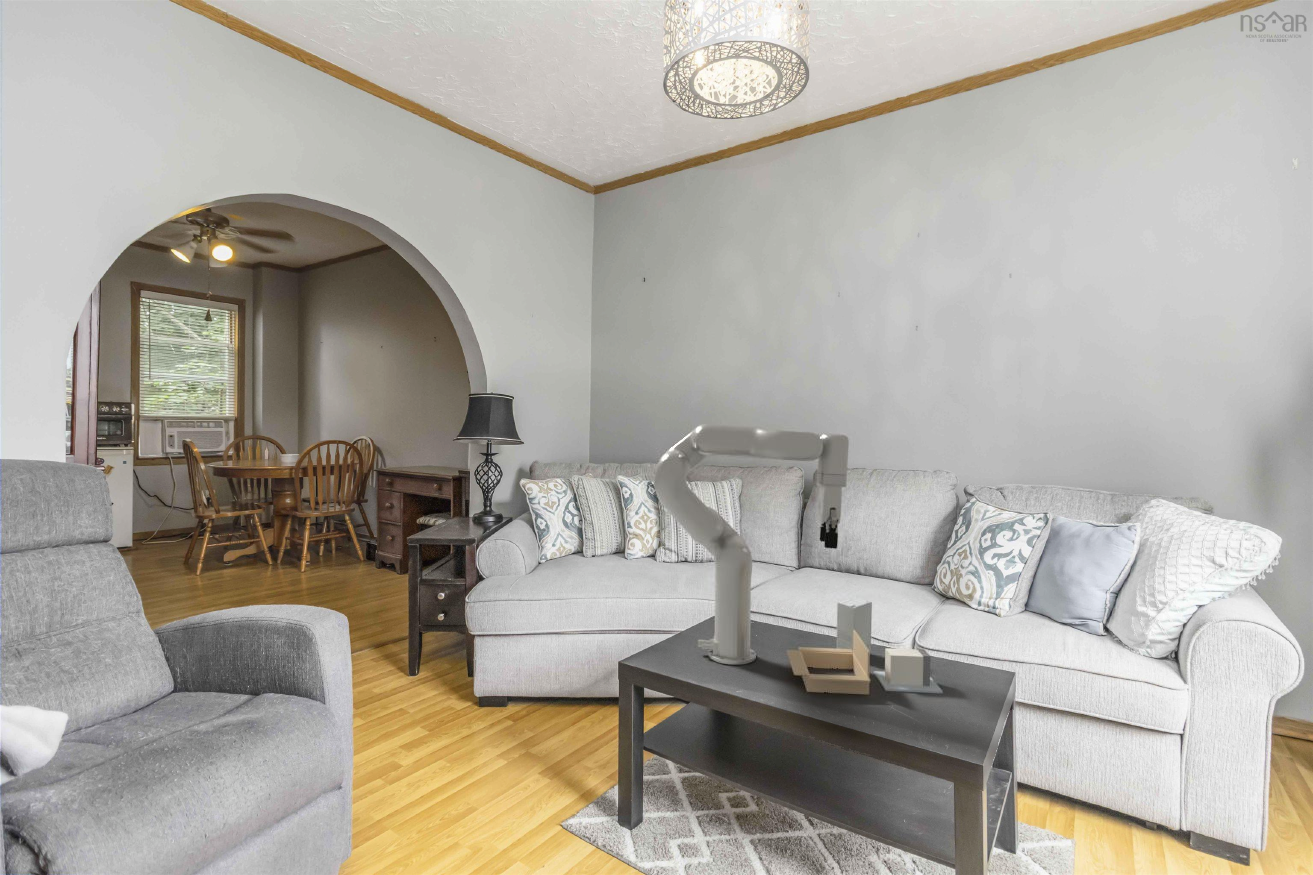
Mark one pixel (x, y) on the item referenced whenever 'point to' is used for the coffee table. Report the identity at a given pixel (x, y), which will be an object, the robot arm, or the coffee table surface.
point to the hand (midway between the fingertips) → (828, 544)
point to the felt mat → (907, 688)
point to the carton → (833, 659)
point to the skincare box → (853, 622)
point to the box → (907, 666)
